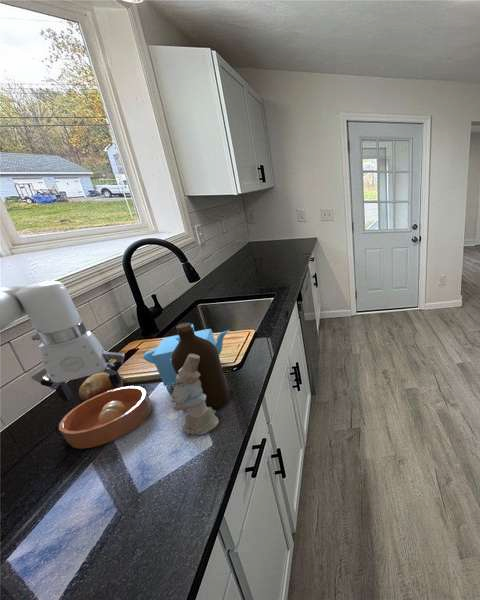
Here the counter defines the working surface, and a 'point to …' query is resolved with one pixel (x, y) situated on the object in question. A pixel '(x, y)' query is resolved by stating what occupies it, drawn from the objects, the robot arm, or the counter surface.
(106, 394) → the terracotta dish
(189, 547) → the counter surface
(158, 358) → the light blue teapot
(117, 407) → the potato
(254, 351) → the counter surface
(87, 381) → the bread roll
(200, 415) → the figurine
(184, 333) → the olive oil
